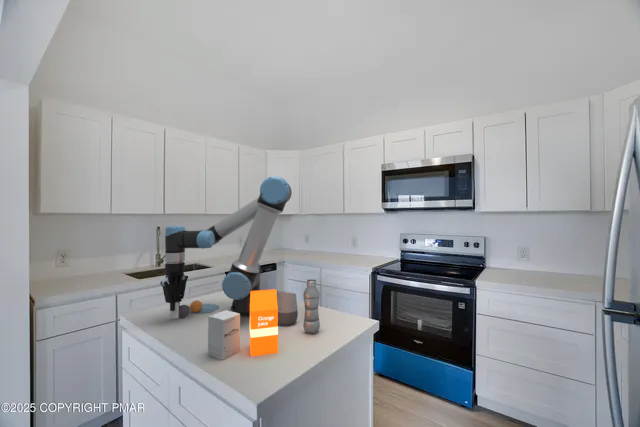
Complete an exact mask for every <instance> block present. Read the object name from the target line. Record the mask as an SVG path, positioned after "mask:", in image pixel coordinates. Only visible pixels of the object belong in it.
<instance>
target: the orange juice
mask: <svg viewBox="0 0 640 427" xmlns="http://www.w3.org/2000/svg"><path fill="white" fill-rule="evenodd" d="M278 325H279V324H278V307H277V289H276V288H274V289H260V290H258V291H251V292H250V316H249V352H250V357H257V356H263V355H271V354H278V353H279V343H278V342H279V326H278Z"/></svg>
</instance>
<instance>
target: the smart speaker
mask: <svg viewBox="0 0 640 427" xmlns="http://www.w3.org/2000/svg"><path fill="white" fill-rule="evenodd" d="M276 294H277V307H278V325H281V326H285V327H286V326H292V325H294V324H295V323H296V322H297V320H298V316H299V315H298V314H299V312H298V302H297V293H295V292H290V291H282V290H276Z"/></svg>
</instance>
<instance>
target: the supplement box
mask: <svg viewBox="0 0 640 427" xmlns="http://www.w3.org/2000/svg"><path fill="white" fill-rule="evenodd" d="M207 317H208V319H207V320H208V322H207V323H208V325H207V354H208V355H209V356H210V357H213V358H216V359H219V360H221V361H224V360H225V359H226V358H228V357H231V356H232V355H234V354H236V353H238V352H240V350H241V349H240V348H241V316H240V314H239V313H236V312H231V310H226V309H225V310H223V311H220V312H218V313H214V314H211V315H209V316H207Z"/></svg>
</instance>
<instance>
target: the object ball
mask: <svg viewBox="0 0 640 427" xmlns="http://www.w3.org/2000/svg"><path fill="white" fill-rule="evenodd" d="M202 304H203V302H202V301H201V300H198V299H197V300H193V301H192V302H191V303H190V304H189V308H190V310H191V311H192V312H194V313H197V312H199V311H200V310H201V309H202ZM194 313H193V314H194Z"/></svg>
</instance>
